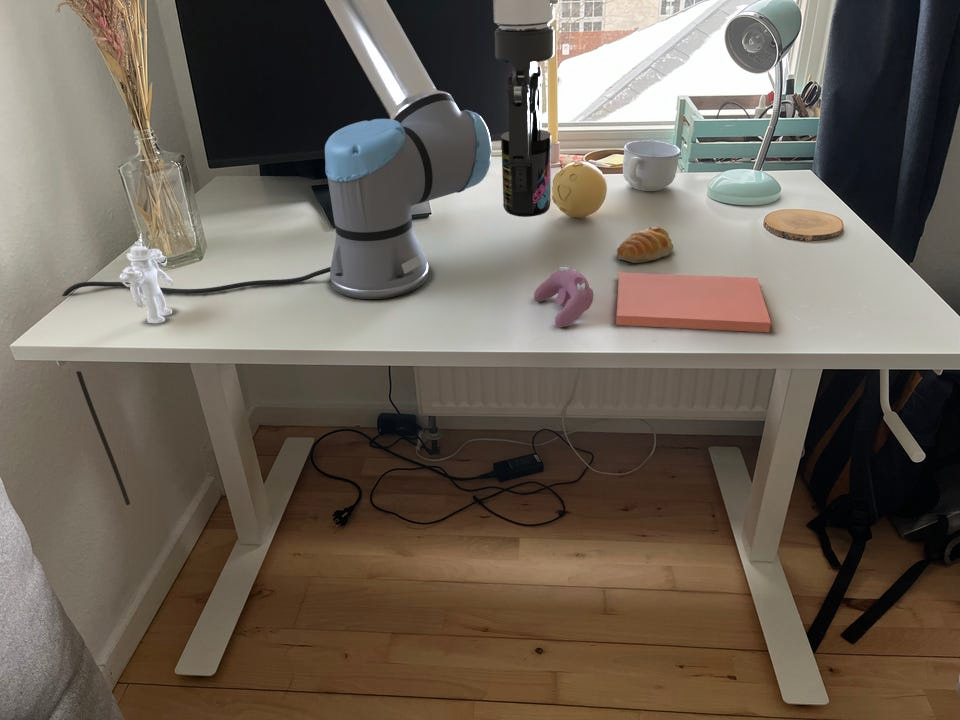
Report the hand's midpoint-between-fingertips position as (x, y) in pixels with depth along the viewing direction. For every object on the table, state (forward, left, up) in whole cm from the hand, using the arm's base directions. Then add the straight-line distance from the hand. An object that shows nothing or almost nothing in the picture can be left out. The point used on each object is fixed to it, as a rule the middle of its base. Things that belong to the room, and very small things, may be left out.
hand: (526, 202), depth 106 cm
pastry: (+17, +15, -14) cm, 27 cm away
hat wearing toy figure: (-53, -14, -14) cm, 56 cm away
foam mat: (+23, -2, -14) cm, 27 cm away
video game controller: (+6, -6, -14) cm, 16 cm away
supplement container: (0, 0, -1) cm, 1 cm away
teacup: (+17, +48, -14) cm, 53 cm away
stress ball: (+5, +32, -14) cm, 36 cm away
